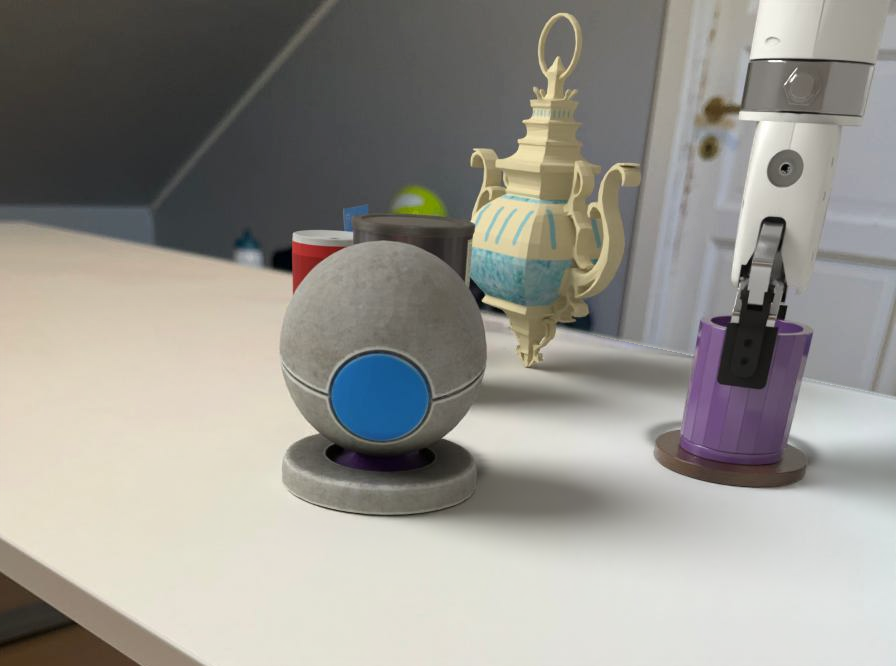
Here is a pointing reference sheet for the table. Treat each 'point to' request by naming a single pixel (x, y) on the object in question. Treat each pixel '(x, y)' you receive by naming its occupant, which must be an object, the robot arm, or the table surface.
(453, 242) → the coffee can
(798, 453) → the coaster
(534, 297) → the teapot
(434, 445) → the webcam
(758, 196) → the robot arm
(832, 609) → the table surface
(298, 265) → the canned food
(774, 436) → the cup
